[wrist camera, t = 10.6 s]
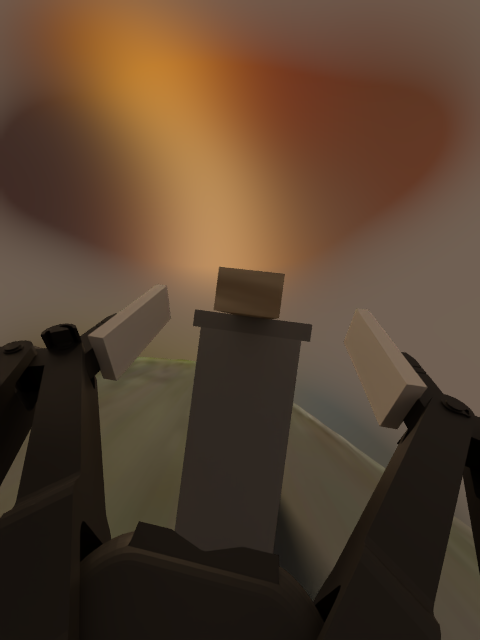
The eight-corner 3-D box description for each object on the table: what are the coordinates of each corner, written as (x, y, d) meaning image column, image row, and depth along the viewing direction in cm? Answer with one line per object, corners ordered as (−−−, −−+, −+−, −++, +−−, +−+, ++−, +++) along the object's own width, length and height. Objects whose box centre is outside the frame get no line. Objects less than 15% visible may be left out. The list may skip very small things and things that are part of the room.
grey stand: (278, 579, 25) (312, 324, 25) (164, 551, 27) (195, 309, 26) (271, 472, 43) (290, 323, 43) (202, 458, 45) (221, 314, 44)
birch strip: (278, 318, 15) (284, 274, 15) (213, 309, 15) (219, 266, 15) (266, 319, 42) (268, 304, 42) (244, 316, 43) (246, 301, 43)
